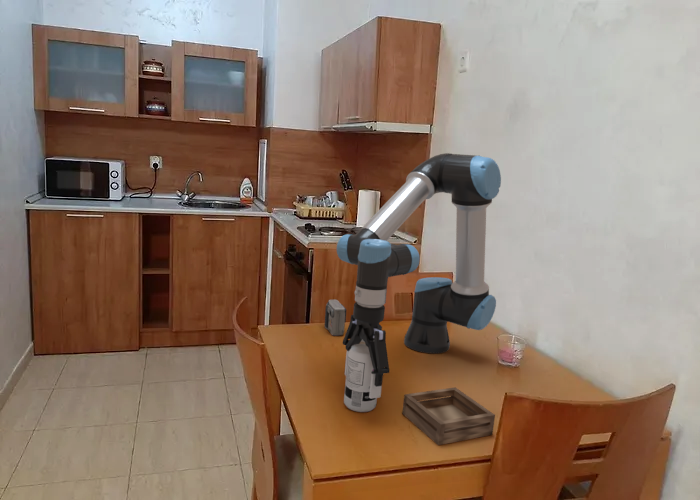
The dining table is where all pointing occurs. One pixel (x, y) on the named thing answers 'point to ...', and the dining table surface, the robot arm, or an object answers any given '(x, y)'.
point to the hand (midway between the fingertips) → (361, 385)
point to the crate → (448, 415)
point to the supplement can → (359, 379)
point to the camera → (335, 317)
